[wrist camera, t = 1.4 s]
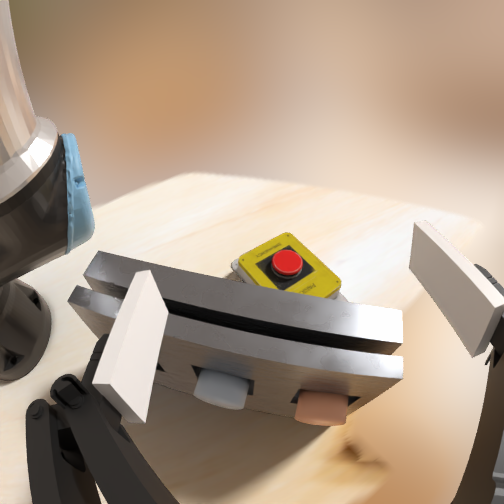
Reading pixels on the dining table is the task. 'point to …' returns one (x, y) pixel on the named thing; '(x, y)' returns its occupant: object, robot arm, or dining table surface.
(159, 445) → the dining table surface
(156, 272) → the button panel
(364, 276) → the dining table surface
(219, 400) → the grey dome button
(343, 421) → the terracotta button
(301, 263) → the emergency button
